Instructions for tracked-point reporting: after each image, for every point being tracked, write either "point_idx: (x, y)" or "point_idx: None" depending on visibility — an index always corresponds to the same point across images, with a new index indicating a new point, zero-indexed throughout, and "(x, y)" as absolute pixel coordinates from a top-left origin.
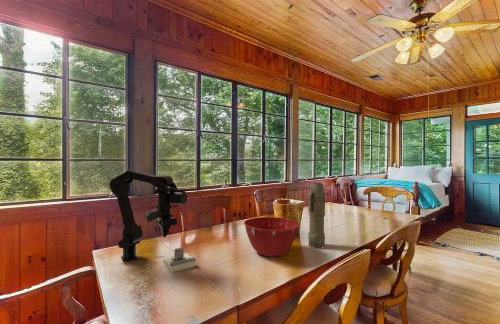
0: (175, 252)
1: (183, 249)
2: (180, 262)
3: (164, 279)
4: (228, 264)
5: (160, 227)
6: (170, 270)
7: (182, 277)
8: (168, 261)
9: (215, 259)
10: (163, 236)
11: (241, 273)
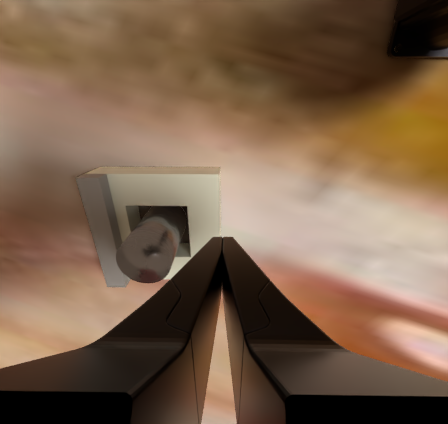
0: (134, 234)
1: (134, 279)
2: (91, 221)
3: (33, 115)
4: (95, 338)
5: (290, 306)
6: (110, 167)
7: (34, 188)
8: (157, 182)
9: None
10: (209, 240)
11: (16, 336)
